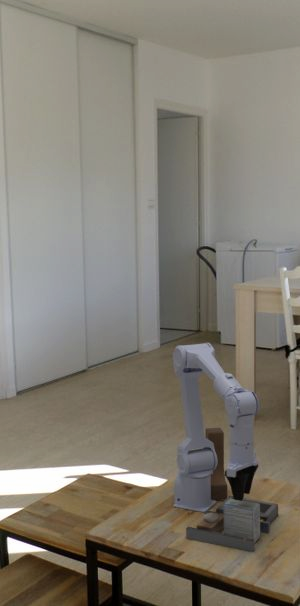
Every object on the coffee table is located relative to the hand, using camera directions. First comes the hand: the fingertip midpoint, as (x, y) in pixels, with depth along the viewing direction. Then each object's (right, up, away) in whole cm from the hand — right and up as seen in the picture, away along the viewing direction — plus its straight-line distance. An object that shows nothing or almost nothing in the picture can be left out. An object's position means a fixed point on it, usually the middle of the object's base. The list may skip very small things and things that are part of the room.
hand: (241, 496), depth 181 cm
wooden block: (-4, -7, +29) cm, 30 cm away
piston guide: (-3, -10, +3) cm, 11 cm away
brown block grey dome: (-7, -10, +5) cm, 13 cm away
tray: (+3, -9, +13) cm, 16 cm away
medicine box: (0, -11, +1) cm, 11 cm away
